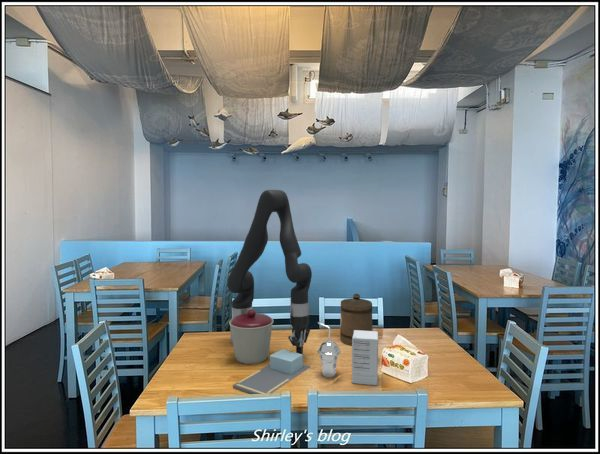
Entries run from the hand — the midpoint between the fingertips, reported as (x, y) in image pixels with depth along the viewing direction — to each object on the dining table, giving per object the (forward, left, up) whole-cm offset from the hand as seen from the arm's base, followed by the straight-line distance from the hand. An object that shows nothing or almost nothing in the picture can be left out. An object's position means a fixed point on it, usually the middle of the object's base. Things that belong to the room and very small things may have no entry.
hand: (299, 354), depth 162 cm
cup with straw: (+16, -5, -3) cm, 18 cm away
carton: (0, -9, -2) cm, 9 cm away
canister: (-18, -9, -3) cm, 20 cm away
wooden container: (+8, +35, -3) cm, 36 cm away
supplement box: (+28, +1, -3) cm, 29 cm away
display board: (0, -17, -3) cm, 17 cm away
